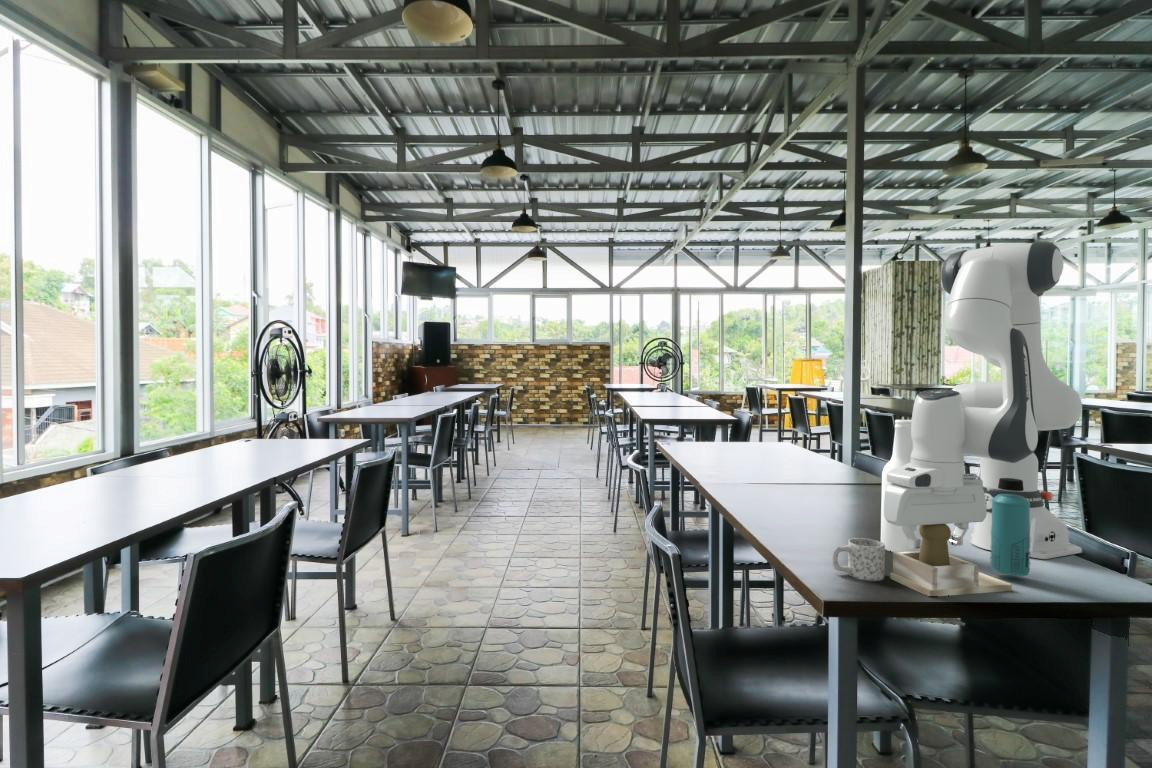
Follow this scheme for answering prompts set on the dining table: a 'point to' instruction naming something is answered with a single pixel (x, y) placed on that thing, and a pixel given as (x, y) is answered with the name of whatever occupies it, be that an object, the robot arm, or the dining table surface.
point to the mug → (862, 559)
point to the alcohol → (901, 456)
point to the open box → (943, 576)
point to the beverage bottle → (1010, 530)
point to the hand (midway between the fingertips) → (934, 546)
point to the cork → (935, 544)
